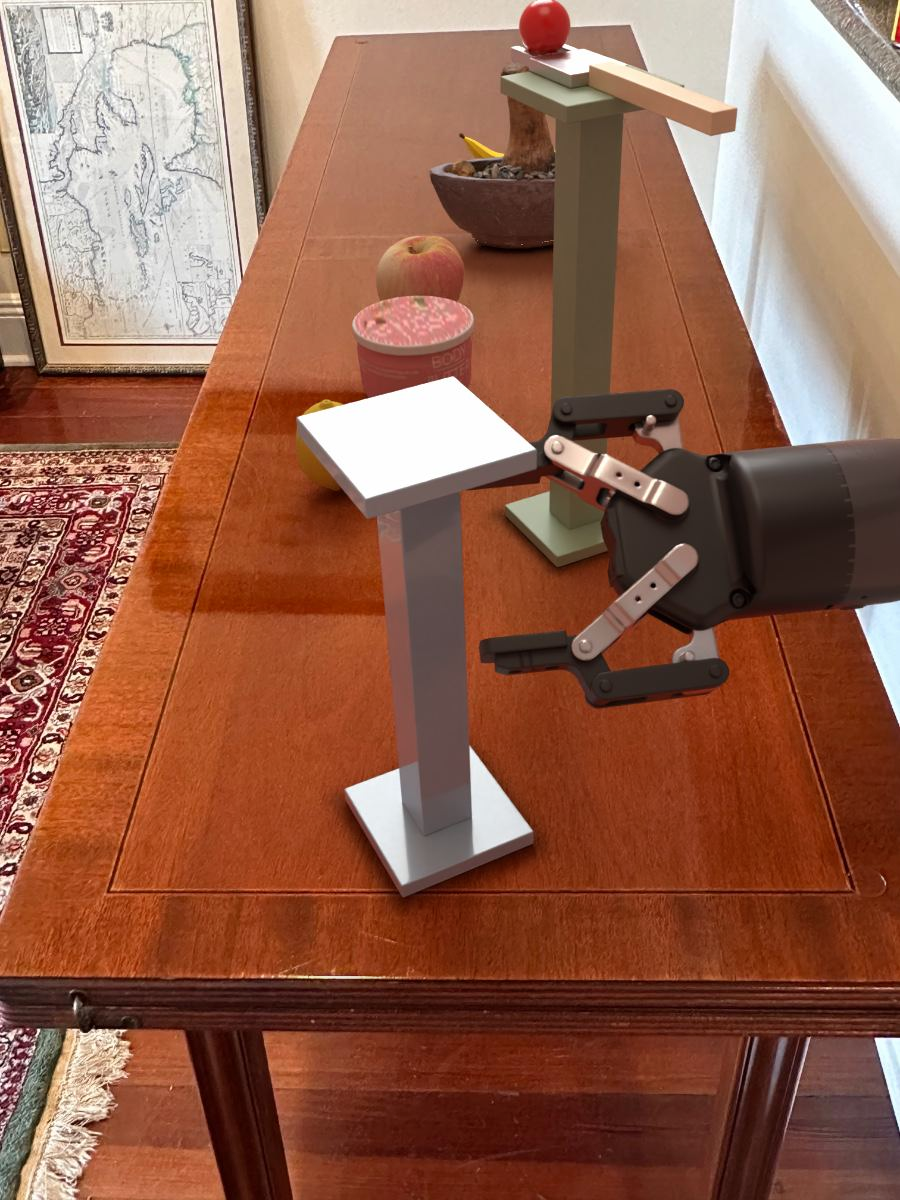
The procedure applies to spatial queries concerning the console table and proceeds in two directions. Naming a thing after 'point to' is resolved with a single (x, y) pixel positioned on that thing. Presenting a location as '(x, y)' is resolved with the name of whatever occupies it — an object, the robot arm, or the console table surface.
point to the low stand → (425, 618)
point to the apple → (420, 269)
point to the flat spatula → (610, 73)
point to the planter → (505, 184)
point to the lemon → (309, 460)
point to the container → (412, 343)
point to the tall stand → (577, 286)
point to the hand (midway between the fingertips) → (470, 562)
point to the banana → (479, 149)
